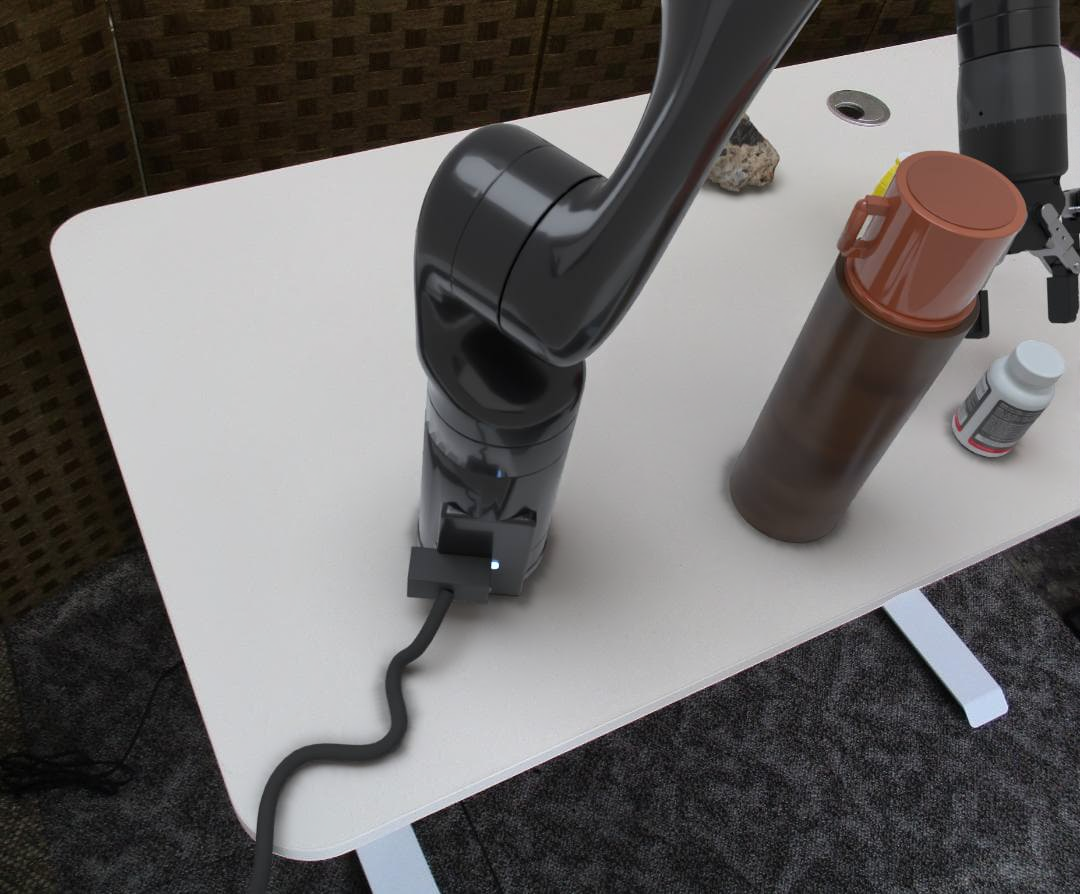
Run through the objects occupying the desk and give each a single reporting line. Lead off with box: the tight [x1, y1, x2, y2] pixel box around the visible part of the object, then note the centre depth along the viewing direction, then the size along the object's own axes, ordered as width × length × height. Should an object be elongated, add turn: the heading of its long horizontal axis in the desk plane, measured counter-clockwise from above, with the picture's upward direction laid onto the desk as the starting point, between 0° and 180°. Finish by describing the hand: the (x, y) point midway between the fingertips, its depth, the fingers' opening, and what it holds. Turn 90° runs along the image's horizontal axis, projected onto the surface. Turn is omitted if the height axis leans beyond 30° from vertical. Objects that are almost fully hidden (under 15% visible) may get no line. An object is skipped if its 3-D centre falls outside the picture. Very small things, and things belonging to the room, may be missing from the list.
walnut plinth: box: [729, 236, 980, 544], centre depth 69 cm, size 9×9×23 cm
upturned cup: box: [836, 150, 1027, 332], centre depth 57 cm, size 8×9×7 cm
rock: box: [706, 112, 781, 192], centre depth 100 cm, size 9×7×10 cm
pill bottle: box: [951, 339, 1066, 458], centre depth 81 cm, size 5×5×10 cm
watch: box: [871, 151, 914, 197], centre depth 100 cm, size 6×3×6 cm, turn 126°
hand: (1020, 330), depth 79 cm, fingers open, 8 cm apart
